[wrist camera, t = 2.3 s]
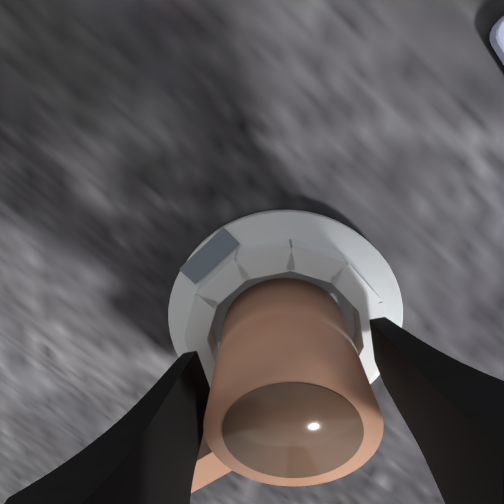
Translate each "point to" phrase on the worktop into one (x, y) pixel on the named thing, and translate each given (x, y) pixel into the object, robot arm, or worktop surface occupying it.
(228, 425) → the mug
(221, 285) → the plate
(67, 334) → the worktop surface
